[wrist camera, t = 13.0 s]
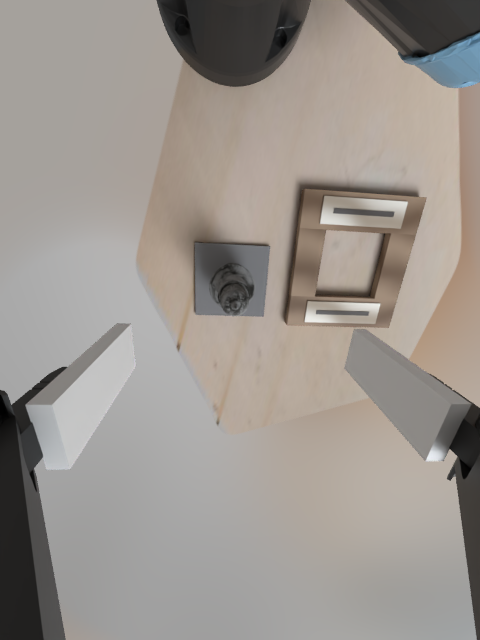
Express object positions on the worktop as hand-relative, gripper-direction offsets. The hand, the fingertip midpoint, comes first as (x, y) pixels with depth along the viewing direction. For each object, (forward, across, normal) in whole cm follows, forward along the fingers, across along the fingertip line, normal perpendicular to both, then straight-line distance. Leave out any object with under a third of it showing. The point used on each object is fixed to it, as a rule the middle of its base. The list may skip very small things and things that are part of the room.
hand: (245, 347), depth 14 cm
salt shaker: (+21, 0, 0) cm, 21 cm away
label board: (+21, +16, +3) cm, 27 cm away
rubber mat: (+21, 0, 0) cm, 21 cm away
